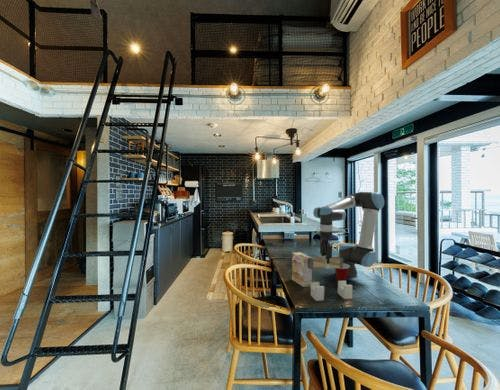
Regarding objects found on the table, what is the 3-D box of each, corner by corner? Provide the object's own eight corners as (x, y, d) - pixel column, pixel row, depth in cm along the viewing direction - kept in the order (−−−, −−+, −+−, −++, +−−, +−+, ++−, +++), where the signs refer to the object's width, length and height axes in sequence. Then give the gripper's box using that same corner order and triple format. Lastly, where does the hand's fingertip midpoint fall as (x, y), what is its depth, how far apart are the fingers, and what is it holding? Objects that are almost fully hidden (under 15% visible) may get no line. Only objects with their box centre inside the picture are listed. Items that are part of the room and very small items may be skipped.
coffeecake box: (291, 279, 178) (292, 252, 178) (300, 278, 181) (300, 251, 180) (303, 287, 164) (303, 258, 164) (312, 286, 167) (312, 257, 166)
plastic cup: (330, 279, 179) (330, 263, 179) (344, 278, 181) (344, 262, 181) (338, 285, 169) (338, 267, 168) (352, 284, 170) (353, 267, 170)
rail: (307, 267, 159) (307, 257, 158) (339, 266, 162) (339, 256, 162) (310, 269, 155) (310, 259, 154) (342, 268, 158) (343, 258, 158)
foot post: (337, 293, 155) (338, 280, 155) (345, 293, 156) (345, 280, 156) (344, 299, 147) (344, 285, 147) (352, 298, 148) (352, 285, 148)
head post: (310, 294, 152) (310, 282, 152) (318, 294, 153) (318, 281, 153) (315, 300, 145) (316, 287, 144) (323, 300, 145) (324, 286, 145)
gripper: (315, 228, 165) (314, 263, 166) (326, 233, 149) (326, 271, 149) (325, 228, 167) (325, 262, 167) (338, 233, 150) (337, 271, 150)
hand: (325, 266), depth 158 cm, fingers closed on rail, 4 cm apart
